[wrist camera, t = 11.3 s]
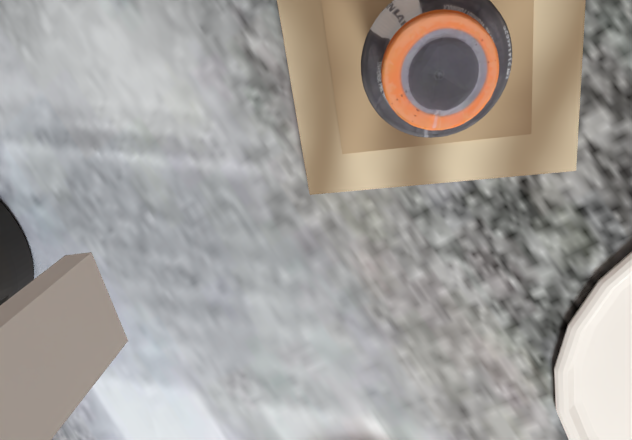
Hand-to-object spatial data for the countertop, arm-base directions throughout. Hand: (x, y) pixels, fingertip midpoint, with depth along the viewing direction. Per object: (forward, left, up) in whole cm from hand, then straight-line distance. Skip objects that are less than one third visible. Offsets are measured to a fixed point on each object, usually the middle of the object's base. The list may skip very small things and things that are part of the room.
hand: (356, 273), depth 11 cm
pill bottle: (+3, +3, -19) cm, 20 cm away
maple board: (+3, +3, -20) cm, 21 cm away
